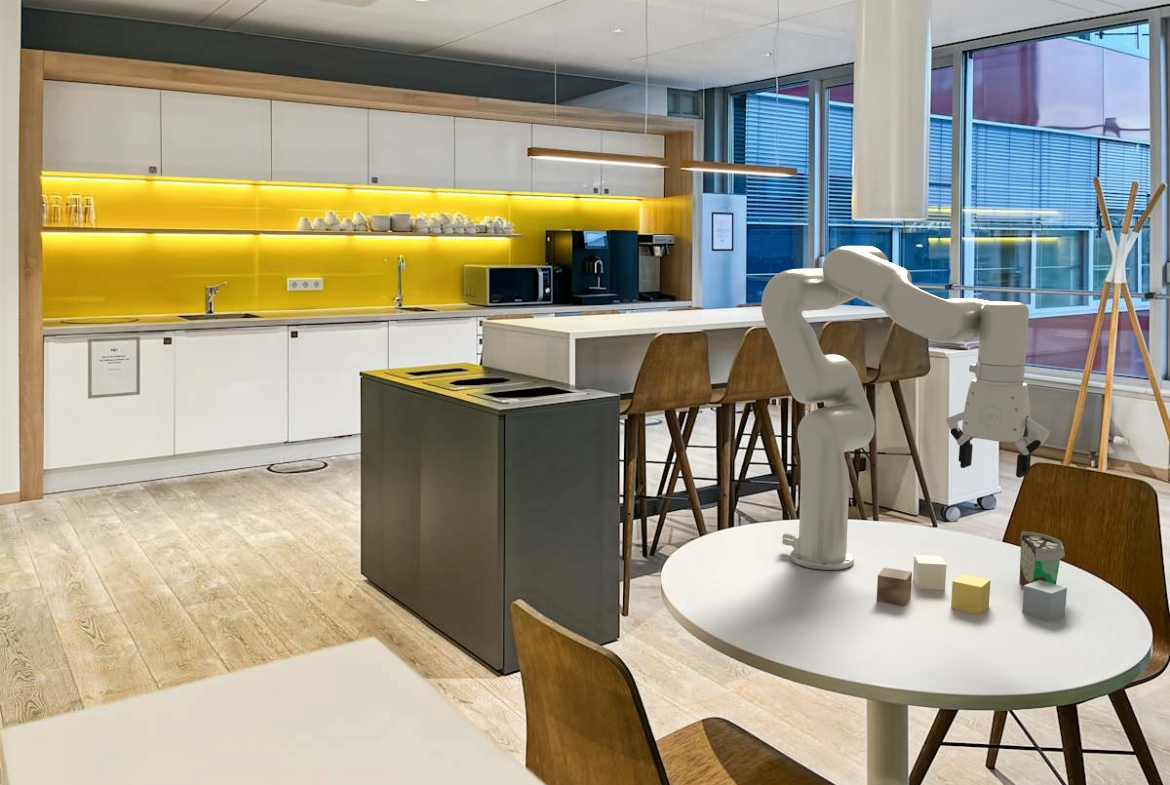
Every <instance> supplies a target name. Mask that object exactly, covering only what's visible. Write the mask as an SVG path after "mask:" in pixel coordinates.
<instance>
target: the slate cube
mask: <svg viewBox="0 0 1170 785" xmlns="http://www.w3.org/2000/svg"><path fill="white" fill-rule="evenodd" d="M1067 590H1068V587H1065V586H1063V585H1059V584H1056V585H1055V584H1052V583H1048V582H1045V581H1041V580H1038V581H1035V582H1032V583H1029V584H1027V585H1024V590H1023V593H1022V596H1023V597H1022V608H1021V612H1022V613H1024V614H1026V615H1029V616H1032V617H1036V618H1038V619H1040V620H1046V621H1047V622H1051V621H1054V620H1056V619H1058V618H1060V617H1063V616H1065V614H1066V605H1067V593H1068V592H1067Z"/></svg>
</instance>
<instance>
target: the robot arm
mask: <svg viewBox="0 0 1170 785" xmlns="http://www.w3.org/2000/svg"><path fill="white" fill-rule="evenodd" d="M911 275H912V274H911V273H910V271H909V270H908V269H906V268H904V267H901V266H900V265H896V264H894V263H892V262H889V259H888V257H887V256H886V254H885V253H884V252H883V251H882V250H880V249H878V248H876V247H874V246H869V245H868V246H867V245H845V246H839V247H836V248H834V249H833V250H831V251H829V253H828V254H827V255H826V256H825V258H824V259H823V262H822V268H794V269H792V268H791V269H787V270H784V271H781V272H779V273H777V274H775V275H773V277H772V278H771V279H770V280H769V281H768V282H767V284H766V285H765V287H764V289H763V293H762V297H761V313H762V318H763V322H764V324H765V328H766V329H767V332H768V333H769V335H770V337H771V340H772V342H773V345H774V348H775V350H776V353H777V357H778V359H779V362H780V363H779V364H780V366H781V368H782V372H783V375H784V377H785V380H786V383H787V386H788V389H789V391H790V394H791V396H792V397H793V399H794V400H796V401H797V402H799V404H805V405H808V404H809V405H810V404H811V405H812V404H818V403H819V404H820V403H824V404H825V407H822V408H817V409H813V410H811V411H810V412H807V414H805V415H804V416H803V417H802V419H801V420H800V422H799V424H798V427H797V442H798V443H797V444H798V448H799V449H798V450H799V458H800V498H799V499H800V500H799V519H798V520H799V522H798V523H799V524H798V525H799V526H798V529H799V530H798V535H795V534H792V533H788V532H784V533H783V535H782V539H781V540H782V541H781V542H782V543H781V544H782V545H785V546H790V547H792V548H793V549H792V551H791V552H790V560H791V561H792V562H793V563H795V564H797V565H798V566H801V567H804V568H809V569H813V570H814V569H815V570H821V571H823V570H824V571H826V570H827V571H834V570H837V571H838V570H843V569H847V568H849V567H852V566H853V565H854V563H855V557H854V556H853V554H851V553H850V552H848V551H847V545H848V544H847V542H848V524H849V522H848V521H849V503H850V502H849V499H850V497H849V496H850V473H849V467H848V464H847V461H846V457H845V453H846V452H850V451H854V450H859V449H861V448H864V447H865V446H867V445H868V444H869V443H870V442H871V441H872V439H873V438H874V435H875V429H876V428H875V427H876V426H875V425H876V424H875V419H874V416H873V412H872V410H871V407H870V403H869V401H868V398H867V395H866V392H865V389H864V387H863V383H862V381H861V378H860V376H859V373H858V371H857V369H856V367H855V366H854V365H853V364H852V363H851V361H850V360H848V359H847V358H846V357H844V356H842V355H838V354H824V352H823V350H822V348H821V346H820V343H819V340H818V337H817V335H816V334H817V333H816V331H815V330H814V329H813V327H812V326H811V324H810V323H809V321H807V320H806V318H805V317H804V316H803V312H805V311H808V312H809V311H810V312H811V311H823V310H824V311H825V310H828V309H831V308H835V307H838V306H840V305H843V304H845V303H847V302H850V301H852V300H854V299H858V300H861V301H863V302H865V303H867V304H869V305H871V306H874V307H876V308H877V309H880V310H882V311H883V312H884V313H885V315H887V316H888V317H889V318H890V319H891V320H892V321H893V322H894V323H895V324H897V325H898V326H900V327H902V328H904V329H905V330H907V331H909V332H912V333H914V334H916V335H918V336H920V337H922V338H925V339H927V340H929V341H932V342H934V343H935V342H936V343H940V344H941V343H942V344H948V343H949V344H951V343H959V342H968V341H977V340H978V351H977V362H976V363H974V364H970V365H969V368H968V371H969V373H973V374H975V376H974V377H975V379H972V380H970V384H969V386H968V390H967V394H966V400H965V402H964V403H965V404H964V409H963V411H962V412H959V413H957V414H955V415H952V416H948V417H947V418H946V419H945V420H946V424H947V426H948V429H950V434H951V435H952V437H953V438H954V439H955V440H956V444H958V446H959V449H958V462H960V466H959V467H960V469H964V468H968V467H971V465H972V462H973V461H972V459H973V446H974V445H973V443H972V442H971V441H972V440H973V439H979V440H987V441H993V442H998V443H999V442H1001V443H1007V444H1008V443H1009V444H1014V445H1015V446H1016V447H1017V449H1018V451H1019V452H1020V453H1019V454H1017V455H1016V456H1017V458H1016V467H1015V468H1016V469H1015V470H1016V471H1015V477H1017V478H1023V477H1025V476H1027V474H1028V473H1029V472H1030V469H1031V461H1032V460H1031V459H1032V454H1033V452H1035V451H1036V450H1037V449H1039V448H1040V447H1042V445H1043V444H1044V443H1045V442H1046V440H1047V439H1048V437H1049V435H1050V434H1051V433H1050V430H1049V429H1047V428H1046V427H1044V426H1042V424H1040V423H1038V422H1037V421H1035V420H1034V419H1032V418H1031V405H1030V394H1029V388H1028V384H1027V382H1025V381H1024V380H1025V379H1024V378H1025V369H1026V368H1025V367H1026V358H1027V357H1026V356H1027V344H1028V343H1027V342H1028V333H1029V332H1028V331H1029V320H1030V319H1029V318H1030V312H1029V311H1030V310H1029V307H1028V306H1027V304H1025V303H1021V302H1019V301H1018V302H1016V301H1015V302H1014V301H989V300H986V299H985V300H984V299H979V298H974V297H973V298H972V297H966V298H965V297H964V298H962V297H961V298H947V299H945V298H942V297H939V296H936V295H935V294H931V293H929V292H927V291H925V290H922V289H920V288H918V287H917V286H915V285H913V284H912V280H913V279H912V276H911ZM961 421H962V424H961V425H962V428H960V427H959V422H961ZM1030 430H1031V431H1032V432H1034V433H1035V434H1036V437H1035V439H1034V440H1033V441H1032V442H1030V440H1029V439H1028V437H1029V434H1030Z"/></svg>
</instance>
